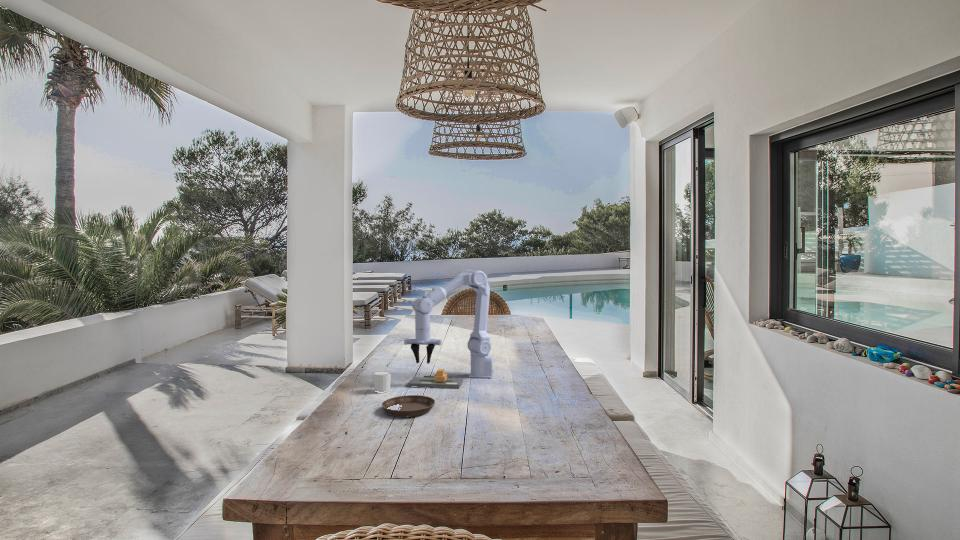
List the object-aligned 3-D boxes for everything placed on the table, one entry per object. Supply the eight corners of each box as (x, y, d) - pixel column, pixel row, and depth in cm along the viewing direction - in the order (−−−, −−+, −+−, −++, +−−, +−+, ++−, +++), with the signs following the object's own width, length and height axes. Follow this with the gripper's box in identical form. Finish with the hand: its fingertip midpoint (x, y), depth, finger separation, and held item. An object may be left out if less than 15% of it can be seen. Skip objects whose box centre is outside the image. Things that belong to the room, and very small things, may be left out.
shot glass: (393, 389, 224) (393, 370, 223) (388, 394, 217) (388, 375, 216) (375, 388, 224) (375, 370, 224) (370, 393, 217) (370, 374, 217)
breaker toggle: (447, 378, 232) (447, 368, 231) (444, 381, 227) (444, 371, 227) (437, 378, 232) (437, 368, 232) (434, 381, 227) (434, 371, 227)
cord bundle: (452, 378, 239) (452, 376, 239) (451, 380, 236) (451, 377, 236) (423, 378, 240) (423, 375, 240) (422, 379, 238) (422, 377, 238)
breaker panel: (463, 382, 234) (463, 378, 233) (458, 388, 224) (458, 384, 224) (414, 380, 236) (414, 376, 236) (407, 387, 226) (407, 382, 226)
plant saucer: (385, 421, 186) (384, 412, 186) (379, 406, 203) (379, 397, 203) (439, 416, 190) (439, 407, 190) (429, 401, 207) (429, 393, 207)
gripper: (401, 329, 226) (402, 364, 227) (438, 330, 224) (439, 365, 225) (406, 327, 233) (407, 360, 234) (442, 327, 231) (442, 361, 232)
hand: (423, 363), depth 230 cm, fingers open, 4 cm apart
